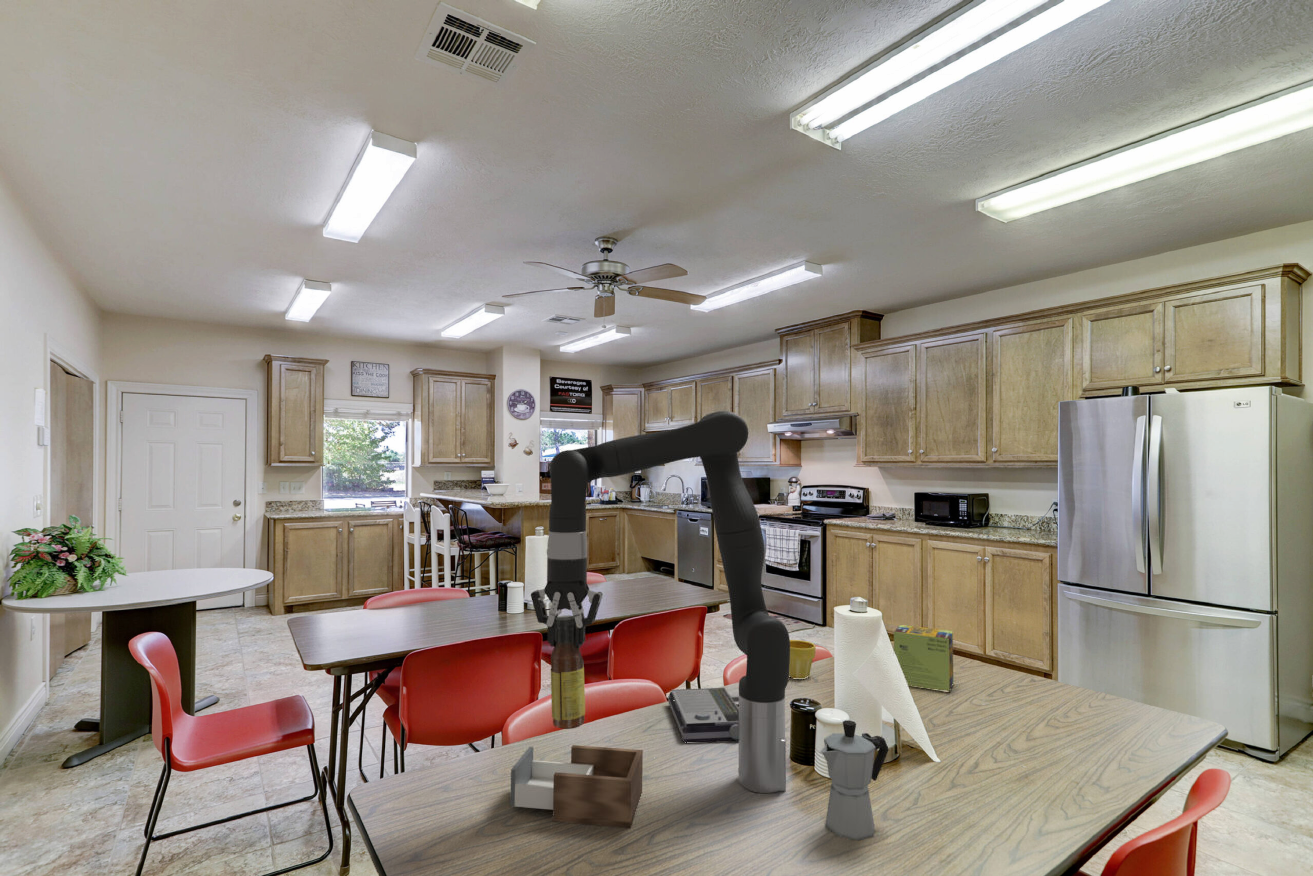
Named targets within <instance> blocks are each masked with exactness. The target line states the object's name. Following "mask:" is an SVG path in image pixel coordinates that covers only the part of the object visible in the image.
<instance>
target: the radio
mask: <svg viewBox="0 0 1313 876" xmlns="http://www.w3.org/2000/svg"><path fill="white" fill-rule="evenodd" d="M667 698H668V704H669V705H667V708H668V709H670V711H671V713H672V716H673V718H674V720H675V723H676V725H677V727H678V730H679V732H680V735H681V737H680V741H682V740H684V741H683V742H684V744H688V743H687V742H708V743H718V742H717V741H730V742H739V706H738V705H737V704H736V703H737V702H738V703H739V695H730V693H729V692H728V690H727V689H726V688H725V687H709V688H708V687H707V688H705V687H704V688H681V689H680V688H679V689H678V688H676V689H671V691H669V694H668V696H667ZM673 700H675V701H673ZM685 742H686V743H685Z"/></svg>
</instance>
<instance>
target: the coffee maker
mask: <svg viewBox="0 0 1313 876" xmlns="http://www.w3.org/2000/svg"><path fill="white" fill-rule="evenodd" d="M842 725H843V726H842V727H843V732H844V733H838V732H835V733H834V732H833V733H832V734H830V735H827V736H826V737H825V738H824V739H823V742H824V746H823V748H822V749H820V751H819V753H821V754H822V755H823V757H824V759H825V762H826V764H827V774H828V776H829V778H830V780H831V784H830V790H829V796H828V802H827V811H826V817H825V825H824V827H825V828H827V829H828V830H829V831H830V832H831V833H833V834H834V835H835V836H836V837H839V838H845V839H850V840H853V841H861V840H864V839H868V838H872V837H874V834H875V833H874V832H875V822H874V816H873V810H872V803H871V795H870V790H869V784H871V783H872V780H873V781H874V782H876V781H877V779H878V778H879V774H880V772H881V770H882V767H883V764H884V762H885V760H886V757H887V755H888V753H889V746H888V744H887V741H886V739H885V738H884V737H882V736H880V735H874V736H871V735H870V734H869V733H868V732H864V733H861V735H858V734H855V733H856V728H857V723H856V721H853V720H847V719H846V720H843V721H842ZM876 751H877V753H876ZM875 754H876V756H875Z"/></svg>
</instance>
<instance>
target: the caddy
mask: <svg viewBox="0 0 1313 876" xmlns="http://www.w3.org/2000/svg"><path fill="white" fill-rule="evenodd" d="M643 751H644V750H643V749H633V748H632V749H631V748H620V747H618V748H617V747H605V746H604V747H603V746H590V745H577V744H576V745H575V744H573V745H572V746H571V748H570V753H571V755H570V756H571V757H570V763H575V764H589V765H594V775H583V774H570V773H557V772H555V774H554V785H553V810H552V822H556V821H557V823H559V822H560V823H567V822H568V824H580V825H590V824H591V825H592V826H601V825H602V827H603V826H605V827H614V828H623V829H625V828H627V829H631V828H632V825H633V822H634V819H635V815H636V813H635V812H637V810H638V807H639V804H638V803H640V801H641V798H642V795H643V763H644V762H643V757H644V756H643ZM641 794H642V795H641ZM640 797H641V798H640ZM639 800H640V801H639ZM637 806H638V807H637ZM636 809H637V810H636ZM591 825H590V826H591Z"/></svg>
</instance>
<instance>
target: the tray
mask: <svg viewBox="0 0 1313 876" xmlns="http://www.w3.org/2000/svg"><path fill="white" fill-rule="evenodd" d="M555 772H557V773H570V774H583V775H594V765H589V764H575V763H571V762H562V761H560V762H559V761H547V760H534V746H529V747H528V748H527V749H526V750H525V751H524V753H523V754H522V755H521V756H520V758H519V759H518V761H517V762H516V763H515V764H514V766H513V767H512V768H511V770H510V797H509V798H510V799H509V800H510V803H509V804H510V805H509V806H510V807H518V808H529V809H541V810H551V811H553V785H554V774H555Z"/></svg>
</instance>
